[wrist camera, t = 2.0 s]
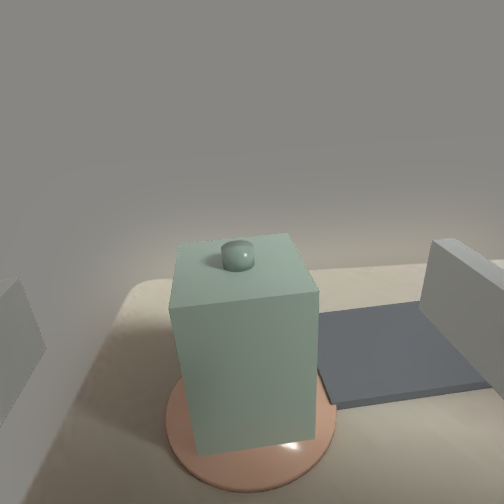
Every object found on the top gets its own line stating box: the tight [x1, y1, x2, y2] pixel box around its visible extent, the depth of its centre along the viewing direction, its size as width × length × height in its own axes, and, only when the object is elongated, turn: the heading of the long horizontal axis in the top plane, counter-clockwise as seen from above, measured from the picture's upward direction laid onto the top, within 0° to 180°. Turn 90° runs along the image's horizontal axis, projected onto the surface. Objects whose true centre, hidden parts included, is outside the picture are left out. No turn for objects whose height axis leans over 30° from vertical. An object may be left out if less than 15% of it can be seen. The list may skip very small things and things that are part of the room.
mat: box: [317, 301, 492, 410], centre depth 32 cm, size 14×11×1 cm
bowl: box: [166, 368, 336, 493], centre depth 27 cm, size 13×13×4 cm
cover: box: [169, 233, 319, 457], centre depth 25 cm, size 8×8×13 cm
